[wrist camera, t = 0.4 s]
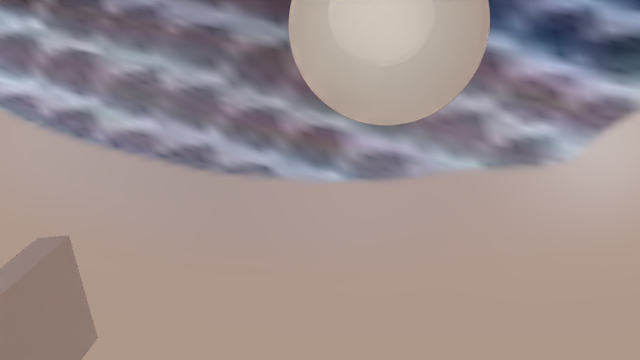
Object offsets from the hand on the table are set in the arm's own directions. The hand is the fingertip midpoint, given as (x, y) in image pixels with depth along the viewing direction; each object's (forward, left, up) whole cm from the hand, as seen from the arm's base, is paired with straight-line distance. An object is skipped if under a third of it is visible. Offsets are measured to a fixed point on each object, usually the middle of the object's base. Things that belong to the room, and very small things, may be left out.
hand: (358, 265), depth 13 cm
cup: (-4, +1, -27) cm, 27 cm away
